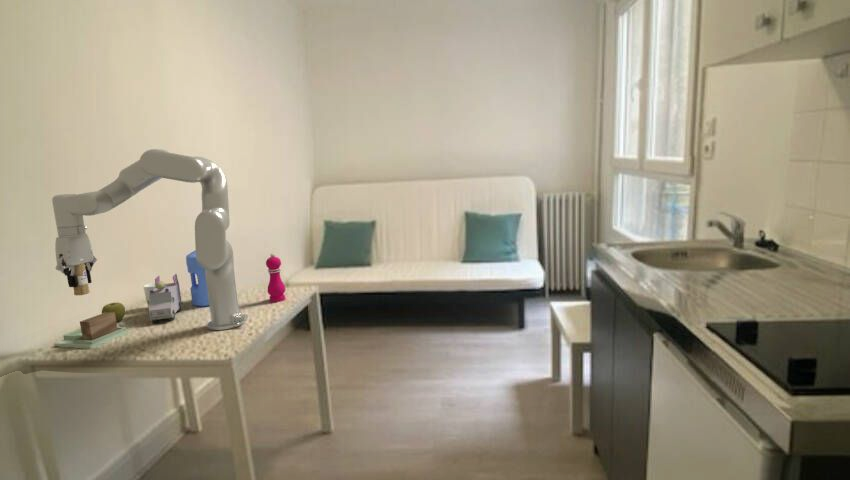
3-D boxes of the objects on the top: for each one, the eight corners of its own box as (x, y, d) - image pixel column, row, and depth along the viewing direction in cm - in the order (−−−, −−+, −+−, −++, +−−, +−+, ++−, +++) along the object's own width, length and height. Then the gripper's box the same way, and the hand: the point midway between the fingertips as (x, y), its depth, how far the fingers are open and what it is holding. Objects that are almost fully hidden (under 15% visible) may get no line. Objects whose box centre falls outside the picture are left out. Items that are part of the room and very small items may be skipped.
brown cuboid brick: (117, 331, 176) (114, 312, 175) (92, 342, 166) (89, 322, 165) (108, 331, 177) (105, 312, 176) (83, 341, 167) (79, 321, 166)
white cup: (169, 307, 208) (166, 284, 206) (148, 311, 203) (144, 288, 202) (166, 303, 214) (163, 281, 213) (146, 307, 210) (142, 284, 208)
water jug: (235, 295, 222) (227, 232, 217) (226, 305, 207) (218, 238, 202) (198, 298, 220) (190, 235, 215) (187, 308, 205) (177, 241, 200)
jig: (128, 332, 178) (127, 325, 178) (91, 348, 164) (89, 340, 163) (94, 331, 182) (93, 324, 182) (54, 346, 168) (53, 339, 167)
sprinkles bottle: (88, 294, 168) (82, 255, 166) (72, 296, 167) (65, 256, 164) (91, 291, 172) (85, 253, 170) (75, 293, 171) (69, 254, 169)
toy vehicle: (148, 325, 185) (141, 286, 183) (160, 311, 204) (155, 275, 201) (175, 322, 187) (169, 283, 185) (185, 307, 206) (180, 272, 204)
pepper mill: (273, 297, 213) (268, 251, 210) (289, 297, 212) (284, 251, 209) (265, 302, 206) (260, 255, 203) (282, 302, 205) (276, 254, 202)
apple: (100, 326, 188) (97, 308, 187) (107, 320, 195) (104, 302, 194) (123, 323, 190) (120, 305, 188) (129, 317, 197) (126, 299, 196)
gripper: (85, 227, 175) (93, 278, 178) (37, 235, 159) (47, 291, 162) (102, 227, 173) (110, 279, 176) (56, 235, 157) (66, 291, 160)
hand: (80, 284), depth 169 cm, fingers closed on sprinkles bottle, 4 cm apart
